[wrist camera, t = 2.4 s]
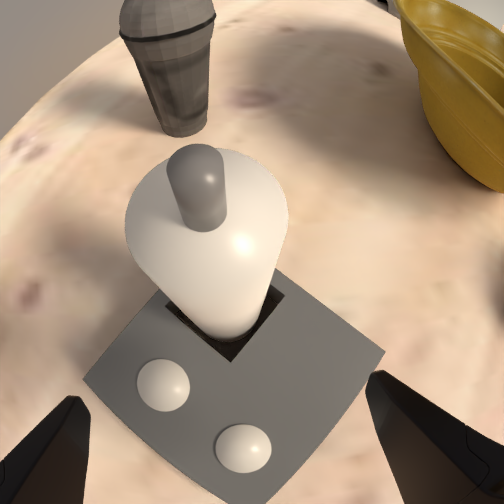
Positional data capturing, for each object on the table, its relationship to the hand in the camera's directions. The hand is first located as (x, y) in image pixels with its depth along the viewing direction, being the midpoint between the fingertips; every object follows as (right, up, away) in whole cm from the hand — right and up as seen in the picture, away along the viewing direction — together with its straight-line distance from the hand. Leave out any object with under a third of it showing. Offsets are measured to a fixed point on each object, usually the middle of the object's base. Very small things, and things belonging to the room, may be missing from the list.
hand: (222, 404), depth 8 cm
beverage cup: (-6, +17, +20) cm, 27 cm away
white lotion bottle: (-1, 0, +13) cm, 13 cm away
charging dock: (0, -4, +11) cm, 12 cm away
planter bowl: (+29, +18, +21) cm, 40 cm away
